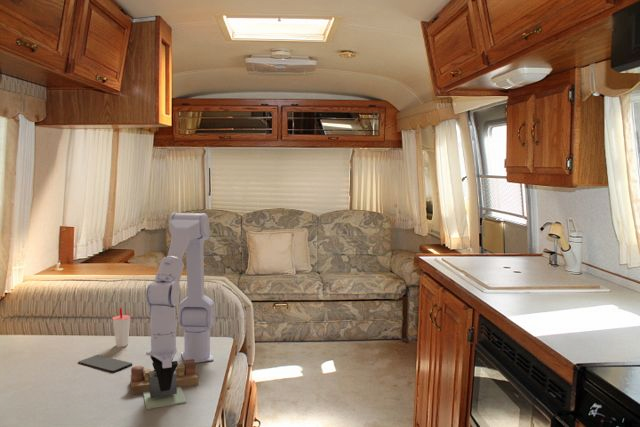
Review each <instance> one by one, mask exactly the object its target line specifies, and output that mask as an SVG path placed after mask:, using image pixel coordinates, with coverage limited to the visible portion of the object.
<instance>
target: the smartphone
mask: <svg viewBox="0 0 640 427" xmlns="http://www.w3.org/2000/svg"><path fill="white" fill-rule="evenodd" d="M77 364H79V365H82V366H86V367H90V368H92V369H93V368H94V369H95V370H96V369H97V370H100V371H104V372H106V373H109V374H110V373H111V374H115V373H118V372H121V371H122V370H125V369H127V368H129V367H132V366H133V363H132V362H129V361H125V360H121V359H116V358H113V357H109V356H104V355H102V354H96V355H93V356H90V357H87V358H84V359H81V360H79V361H78V362H77Z"/></svg>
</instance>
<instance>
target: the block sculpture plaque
mask: <svg viewBox="0 0 640 427" xmlns="http://www.w3.org/2000/svg"><path fill="white" fill-rule="evenodd" d="M183 362H184V365H183V363H178V365H177V367H176V369H175V371H176V378H177V387H181V388H184V387H185V388H186V387H191V386H198V385H199V376H198V372H197V371H196V363H195V361H194V359H190V360H184V359H183ZM144 367H145V366H143V365H135V366H133V367H132V366H131V368H130V371H131V372H130V386H131V393H132V394H131V395H138V394H143V392H148V391H149V371H152V370H151V367H148V368H144Z"/></svg>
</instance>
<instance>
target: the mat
mask: <svg viewBox="0 0 640 427" xmlns="http://www.w3.org/2000/svg"><path fill="white" fill-rule="evenodd" d="M142 394H143V398H144V399H143V400H144V404H145V409H146V410H150V409H157V408H162V407H163V408H164V407H170V406H175V405H181V404H186V403H187V399H186V398H185V395H184V391H183V389H182V387H177V394H174V395H168V396H161V397H155V398H150V393H149V391H148V392H143V393H142Z"/></svg>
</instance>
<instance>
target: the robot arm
mask: <svg viewBox="0 0 640 427" xmlns="http://www.w3.org/2000/svg"><path fill="white" fill-rule="evenodd" d="M210 229H211V228H210V218H209V216H208V215H207V213H205V212H202V213H196V212H195V213H191V212H189V213H188V212H187V213H186V212H185V213H184V212H183V213H182V212H179V213H178V212H172V213H171V214H170V216H169V218H168V230H169V233H170V236H171V241H170V244H169V248H168V249H169V250H168V252H167V256H165V257H163V258H162V259H161V260H160V264H159V266H158V270H157V272H156V275H155V277H154V278H155V279H154V281H153V282H152V283H150V284H148V286H147V288H146V291H145V303H146V305H147V312H148V314H150V349H146V351H145V356H149V358H150V359H151V361H152V363H151V364H152V365H151V366H152V367H153V370H155V371H156V373H157V376H158V381H159V387H160V390H161V391H168V390H170V388H171V383H172V378H173V374H174V371H175V369H176V368H177V365H178V364H179V362H178V360H174V357H175V356H176V354H177V351H178V348H177V339H176V338H177V330H176V329H177V328H176V323H178V325H179V326H180V328H182V331H184V333H183V334H184V336H183V337H184V338H183V341H184V344H183V346H184V349H183V350H184V351H181V352H180V354H181V357H182V359H183V361H184V360H190V359H194V361H195V364H196V363H203V362H204V363H205V362H209V361H214V356H213V355H212V354H211V332H210V331H211V329H212V328H213V327H214V326H215V323H216V319H217V318H216V317H217V316H216V314H217V312H216V309H215V308H216V307H215V302H214V300H213V299H212V298H210V297H209V296H207V295H206V294H205V266H204V265H205V263H204V262H205V259H204V258H205V257H204V256H205V254H204V251H205V250H204V246H205V245H204V244H205V241H207V240H210V236H211V235H210V234H211V232H210V231H211V230H210ZM185 254H186V279H187V280H186V282H187V283H186V288H187V292H186V293H187V296H186V297H185V298H183V299H182V300H181V301H180V302H179V298H180V289H181V285H180V281H181V279H182V275H183V272H184V268H185V264H184V262H183V258H184V256H185ZM178 302H179V305H178V313H177V322H176V306H177V304H178Z"/></svg>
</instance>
